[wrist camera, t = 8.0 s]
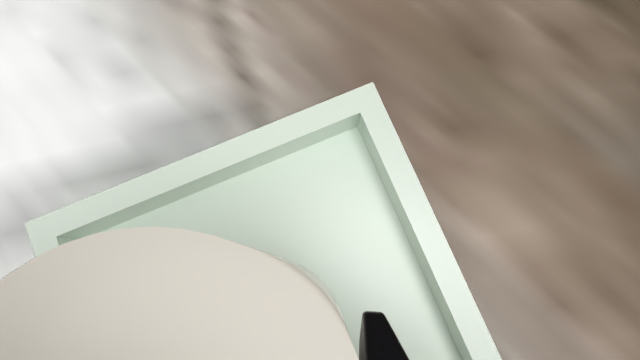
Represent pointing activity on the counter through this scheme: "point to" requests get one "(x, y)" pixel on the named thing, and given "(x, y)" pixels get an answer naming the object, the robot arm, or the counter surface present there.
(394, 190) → the tray
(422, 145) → the counter surface
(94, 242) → the canister
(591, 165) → the counter surface
